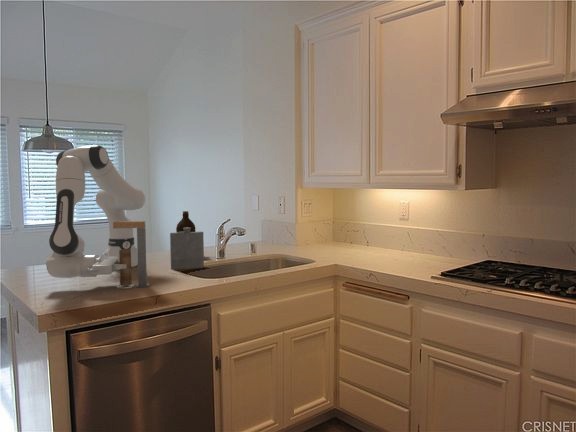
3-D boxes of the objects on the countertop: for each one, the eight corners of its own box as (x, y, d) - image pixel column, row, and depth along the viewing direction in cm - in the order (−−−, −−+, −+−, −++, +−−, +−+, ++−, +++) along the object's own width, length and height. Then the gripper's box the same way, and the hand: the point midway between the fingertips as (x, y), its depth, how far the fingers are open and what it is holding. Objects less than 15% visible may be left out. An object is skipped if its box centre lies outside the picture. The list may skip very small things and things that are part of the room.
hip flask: (203, 266, 233) (202, 226, 231) (204, 267, 229) (204, 227, 227) (170, 268, 228) (169, 227, 226) (171, 270, 224) (170, 228, 222)
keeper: (114, 289, 186) (112, 222, 183) (117, 285, 193) (115, 221, 190) (148, 287, 188) (146, 222, 186) (149, 283, 195) (148, 220, 193)
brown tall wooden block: (118, 284, 190) (117, 250, 189) (129, 282, 193) (128, 249, 192) (122, 286, 187) (121, 251, 186) (133, 284, 190) (132, 250, 188)
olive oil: (199, 254, 269) (198, 210, 267) (189, 257, 259) (188, 212, 257) (183, 253, 272) (182, 210, 270) (173, 256, 262) (172, 211, 260)
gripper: (85, 262, 176) (123, 261, 179) (96, 254, 196) (130, 253, 199) (85, 279, 177) (124, 277, 179) (96, 268, 197) (131, 267, 199)
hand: (127, 264), depth 189 cm, fingers closed on brown tall wooden block, 4 cm apart
